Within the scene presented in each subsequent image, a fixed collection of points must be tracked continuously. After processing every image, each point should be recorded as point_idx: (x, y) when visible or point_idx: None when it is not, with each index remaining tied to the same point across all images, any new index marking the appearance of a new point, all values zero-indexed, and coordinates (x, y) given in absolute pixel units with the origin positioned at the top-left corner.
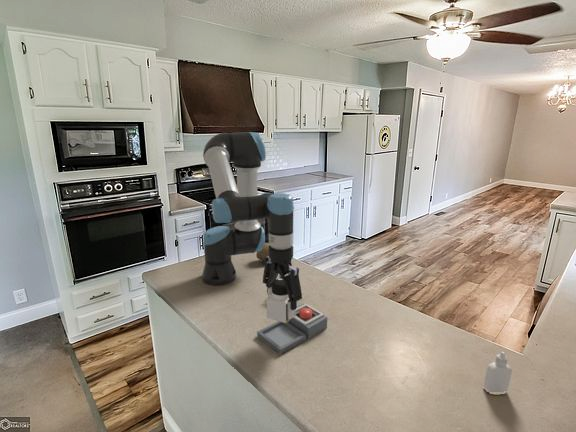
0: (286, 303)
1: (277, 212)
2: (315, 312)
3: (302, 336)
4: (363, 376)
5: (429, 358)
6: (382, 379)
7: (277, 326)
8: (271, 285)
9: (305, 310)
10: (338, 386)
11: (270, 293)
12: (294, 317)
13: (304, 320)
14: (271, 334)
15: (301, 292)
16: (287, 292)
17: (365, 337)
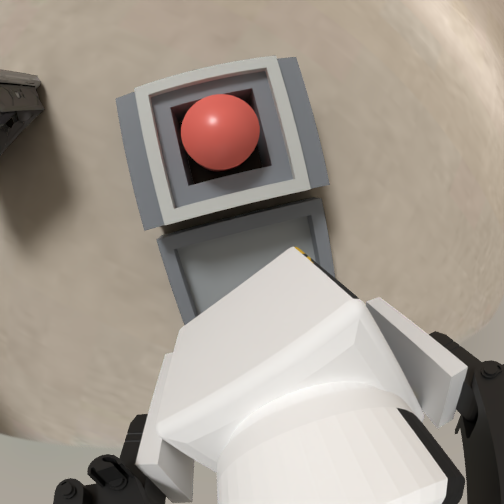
0: (423, 418)
1: None
2: (226, 78)
3: (321, 219)
4: (483, 157)
5: (469, 12)
6: (495, 131)
7: (184, 273)
8: (153, 495)
9: (210, 126)
10: (479, 230)
11: (188, 459)
12: (223, 209)
13: (263, 167)
14: None
15: (29, 75)
16: (469, 469)
17: (384, 25)
